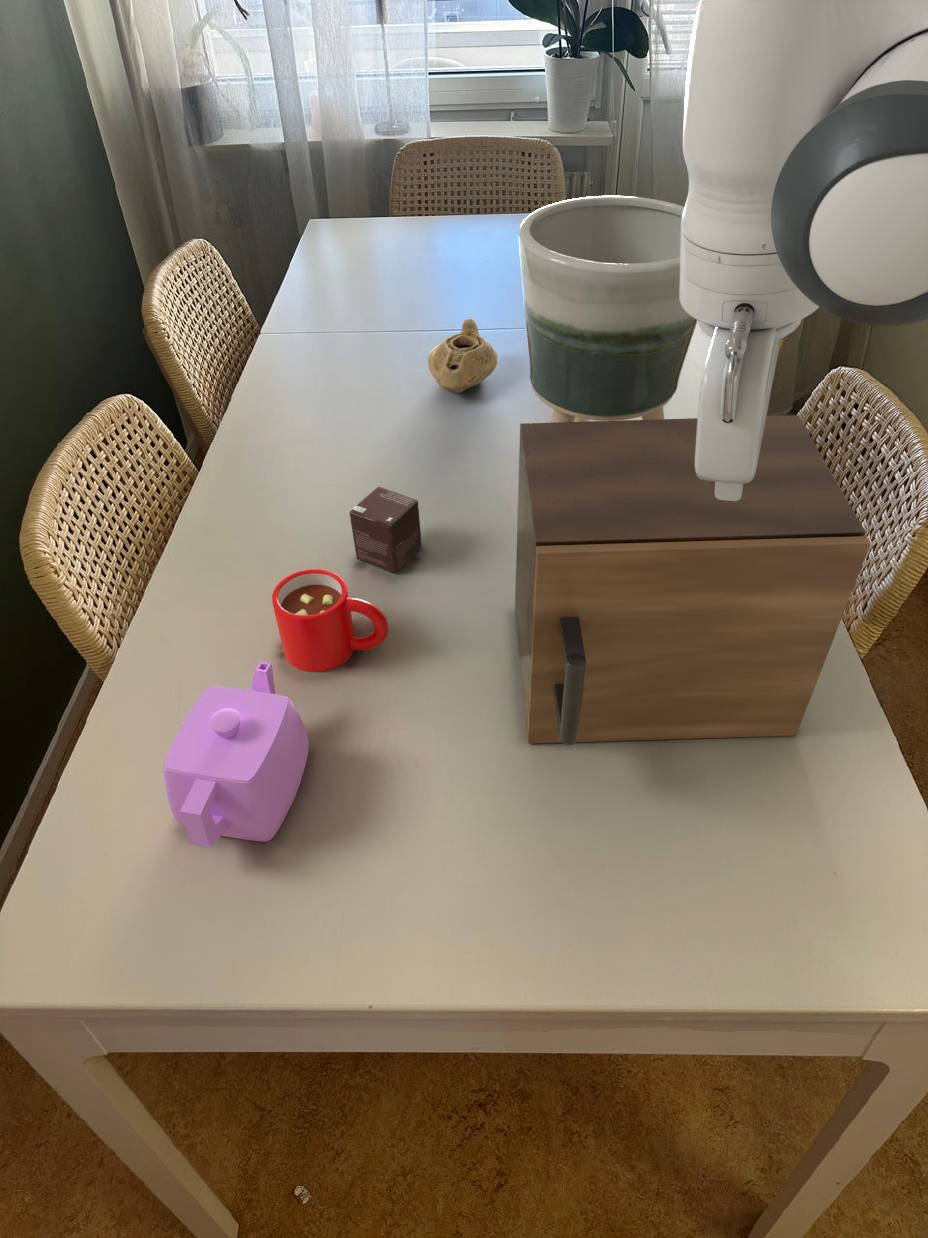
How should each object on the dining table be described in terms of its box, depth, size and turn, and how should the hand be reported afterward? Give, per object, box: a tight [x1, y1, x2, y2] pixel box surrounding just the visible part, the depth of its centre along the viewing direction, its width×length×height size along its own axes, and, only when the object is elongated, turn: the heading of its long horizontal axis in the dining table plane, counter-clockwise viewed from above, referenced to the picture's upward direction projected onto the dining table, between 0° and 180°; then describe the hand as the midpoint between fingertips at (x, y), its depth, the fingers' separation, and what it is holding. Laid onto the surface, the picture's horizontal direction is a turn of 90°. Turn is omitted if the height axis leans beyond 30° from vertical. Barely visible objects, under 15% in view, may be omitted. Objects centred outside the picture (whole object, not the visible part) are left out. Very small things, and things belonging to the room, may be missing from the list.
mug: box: [271, 568, 389, 673], centre depth 93 cm, size 8×12×8 cm, turn 83°
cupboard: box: [514, 414, 867, 733], centre depth 84 cm, size 18×26×24 cm
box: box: [349, 485, 423, 574], centre depth 104 cm, size 6×6×7 cm
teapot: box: [163, 661, 310, 848], centre depth 79 cm, size 18×10×10 cm, turn 169°
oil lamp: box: [427, 318, 498, 394], centre depth 134 cm, size 11×15×8 cm
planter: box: [517, 195, 698, 423], centre depth 106 cm, size 22×22×33 cm
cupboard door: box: [526, 535, 871, 746], centre depth 75 cm, size 7×26×24 cm, turn 91°
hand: (737, 453), depth 63 cm, fingers open, 8 cm apart
